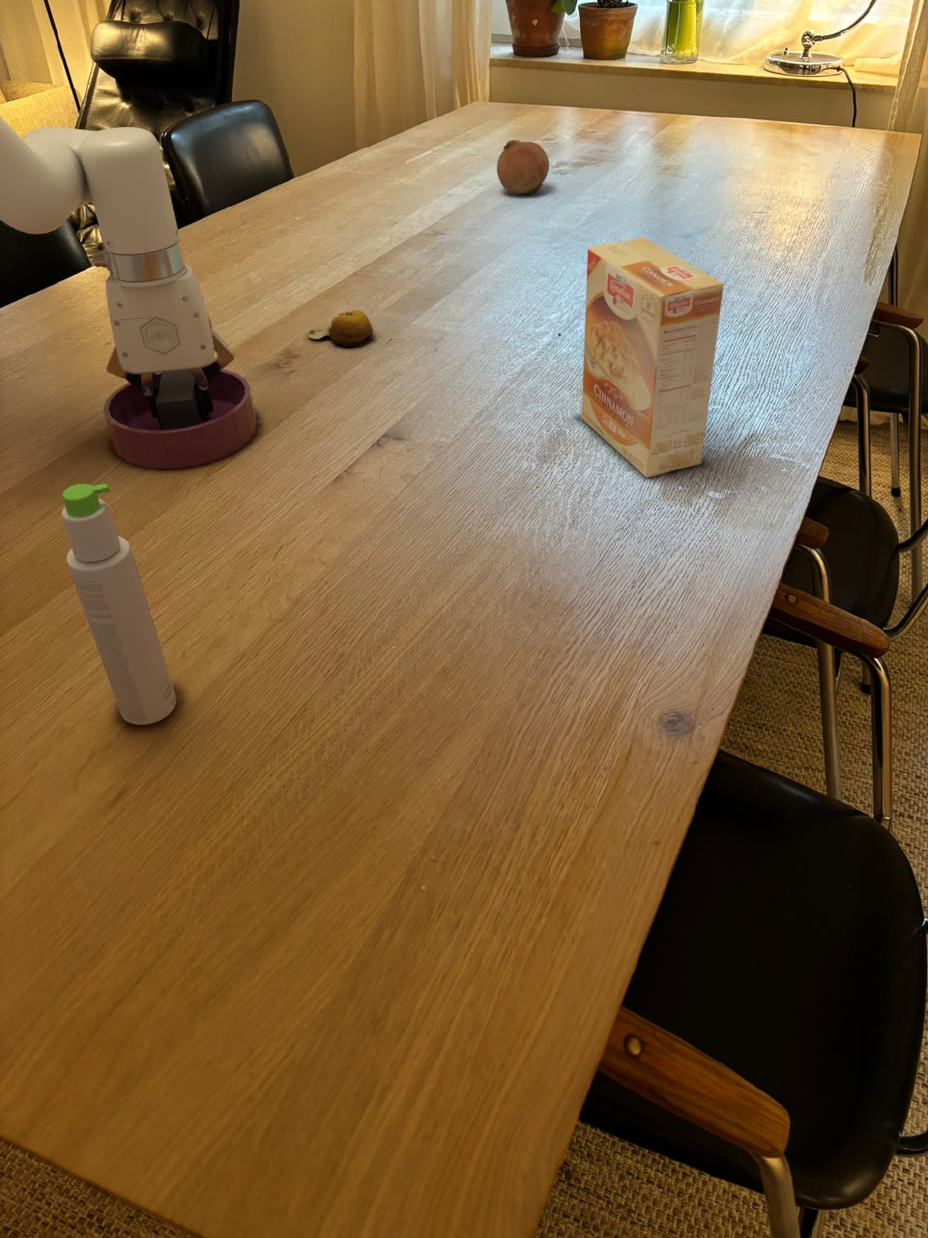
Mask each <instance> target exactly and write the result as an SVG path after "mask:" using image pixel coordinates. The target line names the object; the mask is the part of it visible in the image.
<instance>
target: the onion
mask: <svg viewBox="0 0 928 1238" xmlns="http://www.w3.org/2000/svg"><path fill="white" fill-rule="evenodd" d="M505 144H506V145H504V147H503V150H502V152H501V153H500V155H499V156H498V158H497V161H496V173H497V178H498V181H499V183H500V184H501V186H502V188H503V189H504V190H505V191H506V192H509V193H510V194H512V195H528V196H530V195H533V194H536V193H537V192H538V191H539V190H540V189H541V188H542V187H543V186H544V184H543V183H544V182H545V180H546V179H547V177H548V174H549V171H550V161H549V157H548V154H547V152H546V151H545V149H544V148H543V147H542V146H541V145H540V144H539V143H537V142H533V141H520V140H519V139H511V140H509V141H507V142H506V143H505Z"/></svg>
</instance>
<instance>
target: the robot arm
mask: <svg viewBox="0 0 928 1238" xmlns="http://www.w3.org/2000/svg"><path fill="white" fill-rule="evenodd" d="M172 201H173V200H172V197H171V193H170V187H169V184H168V179H167V173H166V169H165V165H164V160H163V156H162V151H161V147H160V144H159V141H158V140H157V138H156V137H155V135H154V134H153V133H152V132H150V131H149V130H148V129H145V128H141V127H136V126H135V127H134V126H121V127H110V128H104V129H101V130H91V129H90V130H88V129H79V128H71V127H65V126H64V127H63V126H42V127H38V128H35V129H32V130H31V131H28V133H25V135H23V136H22V137H21V136H19V135H18V133H16V131H15V130H14V129H13V128H12V127H11V126H10V125H9V124H8V123H7V122H6V121H5V120H4V118H2V116H1V115H0V221H1V222H3V223H5V224H6V225H7V226H9V227H11V228H12V229H15V230H17V231H19V232H22V233H26V234H29V235H42V234H47V233H50V232H52V231H55V230H57V229H58V228H60V227H61V226H62V225H63V224H64V223H65V222H66V221H67V220H68V219H69V218H70V217H71V215H72V214H73V213H74V212H75V211H76V210H78V209H80V208H81V207H83V206H85V205H86V204H88V203H91V204H92V205H93V208H94V211H95V216H96V219H97V223H98V227H99V230H100V235H101V238H102V242H103V245H104V248H103V251H100V252H99V253H93V254H92V259H93V260H92V261H93V264H94V267H95V268H103V269H106V270H107V271H109V275H108V277H107V278H106V279H105V293H106V294H105V295H106V301H107V309H108V315H109V321H110V327H111V331H112V336H113V341H114V347H113V349H112V352H111V355H110V357H109V359H108V361H107V364H106V368H105V369H106V371H107V372H108V373H109V374H110V375H113V376H115V377H118V378H120V379H123V380H125V381H127V383H131V384H132V385H134V386H135V387H137V388H138V389H140V390H142V393H143V394H144V395H146V396H147V397H148V401H149V405H150V409H151V413H152V416H153V418H158V421H159V424H160V427H161V428H162V425H161V421H160V418H159V414H158V410H157V406H156V399H157V395H158V390H159V385H160V384H158V382H156V380H155V373H159V372H170V371H179V370H189V369H190V370H191V372H192V375H193V377H194V379H195V381H196V384H195V385H196V389H195V395H196V400H197V404H198V408H199V413H200V417H201V421H202V422H203V423H205V422H208V418H209V412H213V402H212V398H211V393H210V389H209V385H210V383H211V382H212V381H213V380H214V378H215V377H216V376H217V374H218V373H219V372H220V370H221V369H225V368H226V367H227V366H229V365H230V364H231V363H232V362H233V361H234V360H235V351H234V349H233V348H232V347H231V346H230V345H229V344H228V343H227V342H226V341H225V340H224V339H223V338H222V337H221V336H220V335H219V334H218V333H217V332H216V331H215V330H214V329H213V325H212V321H211V319H210V314H209V311H208V308H207V304H206V301H205V298H204V294H203V291H202V288H201V285H200V283H199V280H198V279H197V275H196V274H195V271H194V269H193V267H192V266H191V265H190V264H186V261H185V257H184V256H185V255H184V252H183V247H182V243H181V239H180V233H179V230H178V225H177V220H176V215H175V211H174V206H173V202H172ZM215 353H216V354H217V355H216V356H215Z"/></svg>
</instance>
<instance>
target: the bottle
mask: <svg viewBox="0 0 928 1238" xmlns="http://www.w3.org/2000/svg"><path fill="white" fill-rule="evenodd" d="M107 492H110V488H109V486H108V483H106V482H105V483H101V484H97V485H92V484H88V483H76V484H74V485H71V486H69V487H67V488H66V489H65V490H64V491H63V492H62V501H63V504H64V507H63V509H62V511H61V518H62V521H63V525H64V530H65V533H66V536H67V539H68V542H69V545H70V550H69V551H68V553H67V555H66V565H67V567H68V570H69V572H70V575H71V578H72V581H73V584H74V586H75V589H76V593H77V595H78V599H79V601H80V602H81V603H80V604H81V606H82V607H81V608H82V609H83V612H84V615H85V618H86V621H87V623H88V627H89V629H90V631H91V635H92V637H93V640H94V643H95V646H96V648H97V651H98V654H99V657H100V660H101V662H102V666H103V668H104V671H105V674H106V677H107V679H108V683H109V685H110V688H111V691H112V694H113V696H114V699H115V701H116V704H117V708H118V710H119V713H120V715H121V717H122V719H123V720H124V721H126V722H127V723H129V724H132V725H135V726H146V725H151V724H155V723H158V722H160V721H163V719H165V718H167V717H168V716H169V715H170V714H171V713H172V712H173V710H174V709H175V707H176V704H177V696H176V692H175V689H174V686H173V683H172V679H171V676H170V672H169V669H168V665H167V663H166V662H167V661H166V659H165V656H164V653H163V650H162V646H161V643H160V640H159V636H158V633H157V630H156V627H155V623H154V620H153V617H152V613H151V609H150V607H149V602H148V600H147V597H146V594H145V590H144V587H143V584H142V580H141V576H140V573H139V569H138V568H137V567H138V566H137V564H136V560H135V557H134V553H133V551H132V547H131V544H130V542H129V541H128V540H127V539H126V538H123V537H122V536H119V535H118V533H117V528H116V525H115V523H114V520H113V517H112V515H111V512H110V510H109V507H108V505H107V503H106V502H105V500H102V499H101V498H99V496H98V495H100V494H104V493H107Z"/></svg>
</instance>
